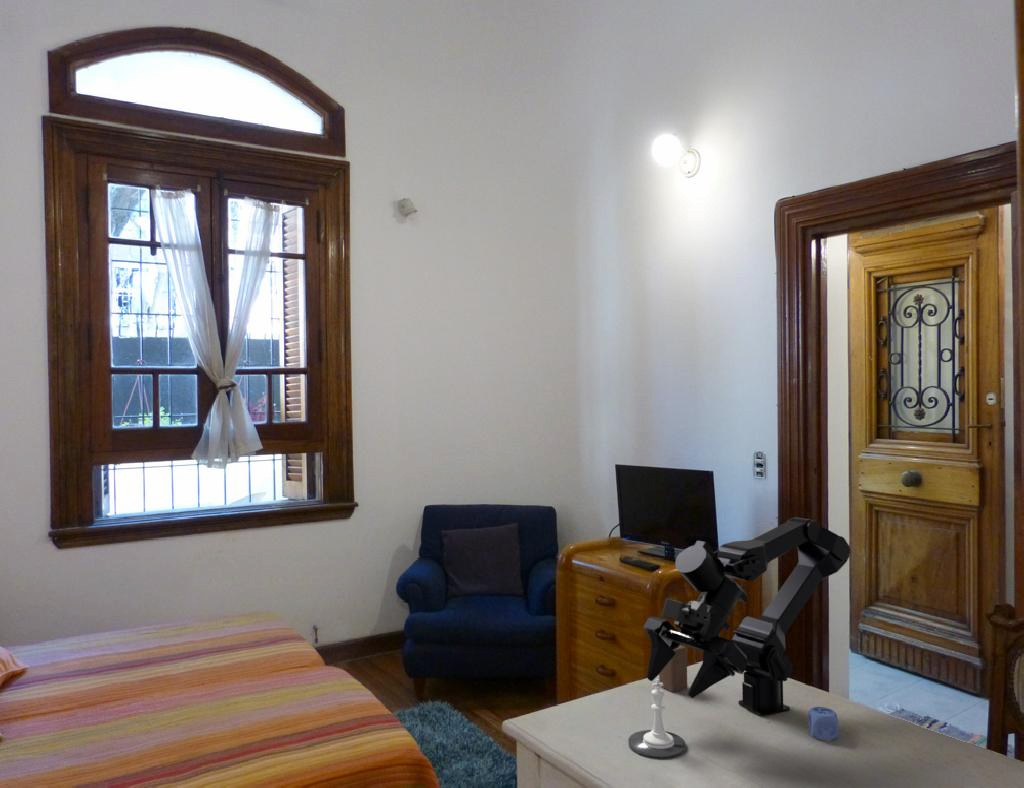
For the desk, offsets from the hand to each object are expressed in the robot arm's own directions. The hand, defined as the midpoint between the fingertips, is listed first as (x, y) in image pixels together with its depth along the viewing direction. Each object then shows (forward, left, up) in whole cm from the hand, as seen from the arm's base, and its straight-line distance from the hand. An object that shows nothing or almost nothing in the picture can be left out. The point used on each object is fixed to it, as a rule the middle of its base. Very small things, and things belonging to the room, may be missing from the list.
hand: (669, 687), depth 124 cm
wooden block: (-14, -19, -9) cm, 26 cm away
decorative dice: (-24, +9, -9) cm, 27 cm away
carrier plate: (+3, +1, -9) cm, 9 cm away
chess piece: (+3, +1, -8) cm, 9 cm away
